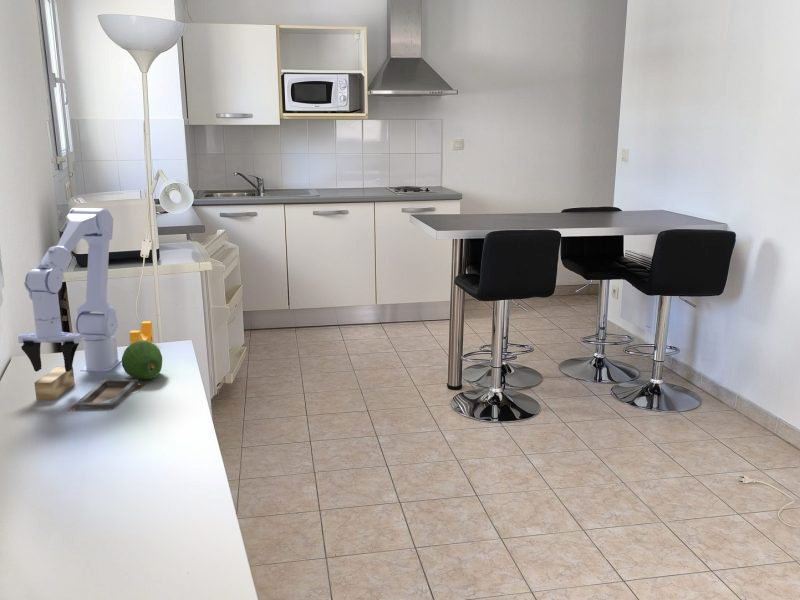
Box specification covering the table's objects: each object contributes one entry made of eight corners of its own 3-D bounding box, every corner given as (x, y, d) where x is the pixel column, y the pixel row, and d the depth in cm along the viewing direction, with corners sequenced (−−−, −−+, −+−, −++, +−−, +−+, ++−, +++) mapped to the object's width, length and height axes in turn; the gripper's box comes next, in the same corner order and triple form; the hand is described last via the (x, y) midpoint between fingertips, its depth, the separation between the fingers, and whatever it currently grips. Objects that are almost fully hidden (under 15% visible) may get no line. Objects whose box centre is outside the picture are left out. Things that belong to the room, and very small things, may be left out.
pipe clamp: (139, 341, 223) (137, 321, 221) (153, 341, 223) (151, 321, 221) (125, 353, 211) (123, 332, 209) (139, 353, 211) (138, 332, 209)
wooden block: (59, 384, 186) (57, 366, 185) (74, 384, 186) (72, 366, 185) (36, 402, 174) (34, 382, 173) (53, 402, 174) (50, 382, 173)
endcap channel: (98, 386, 184) (97, 378, 183) (145, 387, 184) (144, 378, 183) (67, 413, 167) (66, 405, 166) (119, 414, 167) (118, 405, 166)
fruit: (170, 385, 185) (167, 348, 183) (129, 391, 181) (126, 353, 178) (158, 368, 198) (155, 333, 196) (120, 373, 193) (117, 338, 191)
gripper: (9, 321, 171) (15, 375, 175) (70, 321, 171) (75, 375, 175) (24, 314, 178) (30, 366, 181) (82, 314, 178) (87, 366, 181)
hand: (53, 370), depth 178 cm, fingers open, 7 cm apart
